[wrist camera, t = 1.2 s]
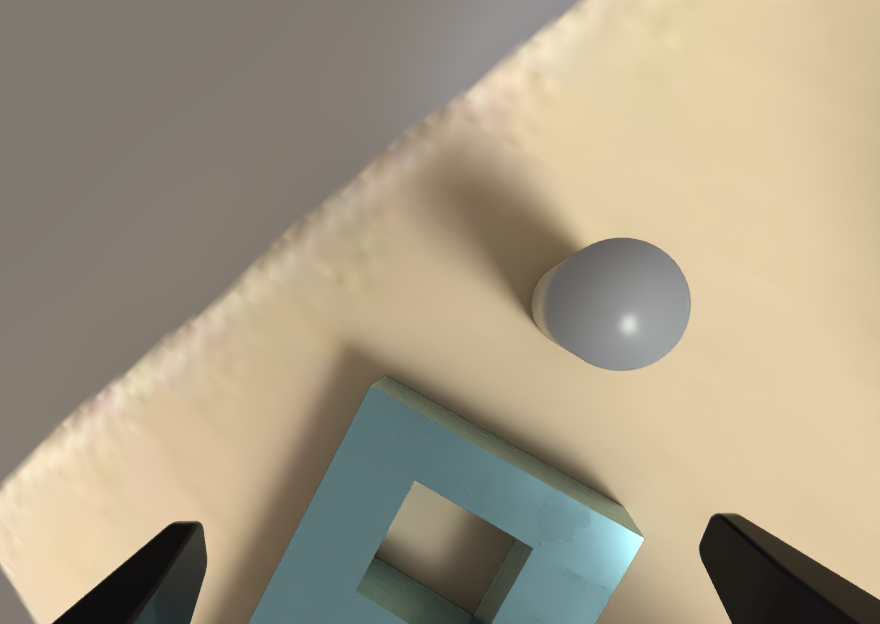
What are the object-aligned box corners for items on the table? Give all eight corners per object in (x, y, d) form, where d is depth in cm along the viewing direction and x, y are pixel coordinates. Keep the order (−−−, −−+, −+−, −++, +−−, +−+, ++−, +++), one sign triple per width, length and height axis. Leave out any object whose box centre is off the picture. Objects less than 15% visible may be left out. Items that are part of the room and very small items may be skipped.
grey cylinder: (635, 286, 22) (716, 275, 14) (592, 362, 22) (649, 394, 14) (556, 246, 22) (591, 214, 14) (516, 322, 23) (528, 331, 15)
